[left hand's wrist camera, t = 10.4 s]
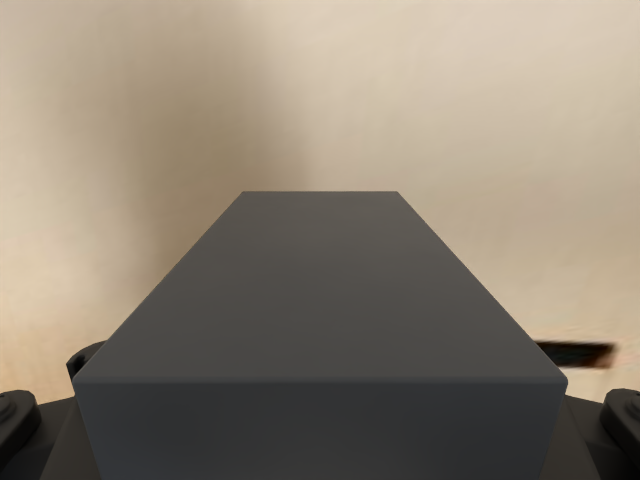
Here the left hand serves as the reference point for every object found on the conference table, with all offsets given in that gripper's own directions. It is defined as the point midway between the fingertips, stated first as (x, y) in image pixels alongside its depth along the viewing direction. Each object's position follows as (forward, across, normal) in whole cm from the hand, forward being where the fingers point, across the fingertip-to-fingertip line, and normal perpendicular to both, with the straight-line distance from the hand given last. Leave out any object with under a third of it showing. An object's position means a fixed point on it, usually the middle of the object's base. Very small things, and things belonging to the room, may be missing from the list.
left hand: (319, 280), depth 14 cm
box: (+1, 0, -7) cm, 7 cm away
